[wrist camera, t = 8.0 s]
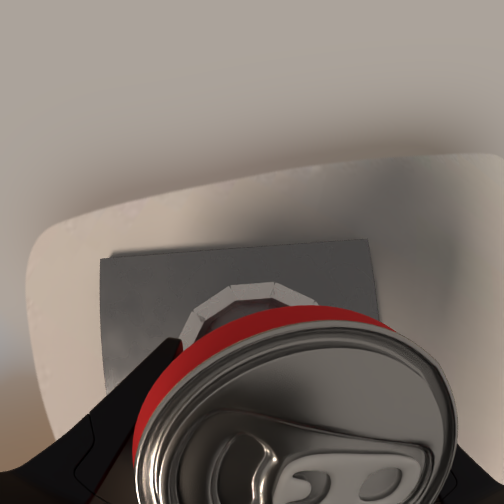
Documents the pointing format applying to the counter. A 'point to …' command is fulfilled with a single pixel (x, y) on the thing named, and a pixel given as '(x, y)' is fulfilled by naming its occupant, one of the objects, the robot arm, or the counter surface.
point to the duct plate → (207, 273)
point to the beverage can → (297, 415)
